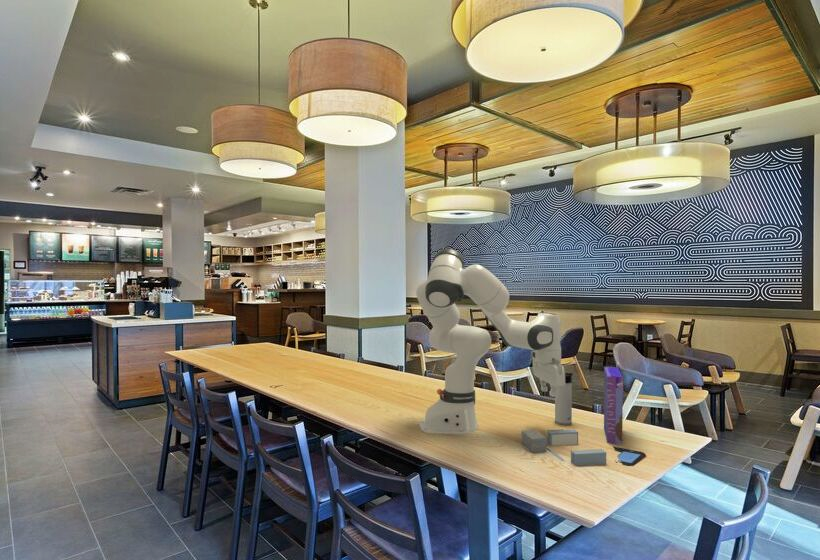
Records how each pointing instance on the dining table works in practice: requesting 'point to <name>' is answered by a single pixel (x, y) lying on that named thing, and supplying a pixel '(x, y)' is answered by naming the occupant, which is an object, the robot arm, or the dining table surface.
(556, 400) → the travel mug
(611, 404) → the cereal box
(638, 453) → the game console
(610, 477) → the dining table surface
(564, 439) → the block
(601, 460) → the vise
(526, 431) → the steel block
